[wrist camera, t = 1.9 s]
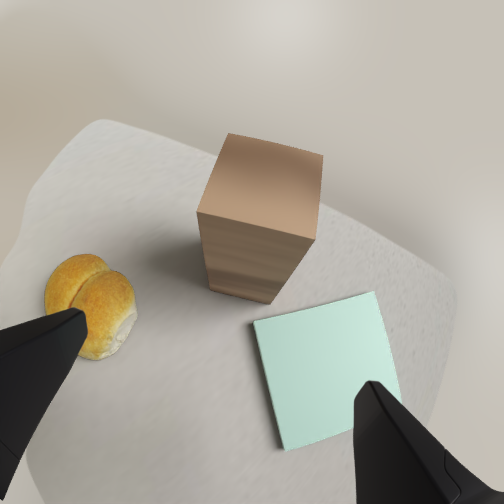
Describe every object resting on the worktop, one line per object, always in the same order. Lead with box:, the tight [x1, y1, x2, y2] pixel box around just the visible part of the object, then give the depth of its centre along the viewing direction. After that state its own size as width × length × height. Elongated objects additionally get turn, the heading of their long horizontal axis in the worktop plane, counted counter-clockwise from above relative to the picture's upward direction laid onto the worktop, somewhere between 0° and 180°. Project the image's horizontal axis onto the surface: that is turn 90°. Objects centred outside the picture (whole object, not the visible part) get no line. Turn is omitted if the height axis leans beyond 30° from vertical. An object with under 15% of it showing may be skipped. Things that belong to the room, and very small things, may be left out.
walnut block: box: [197, 133, 323, 304], centre depth 17 cm, size 5×5×12 cm
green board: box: [253, 291, 402, 451], centre depth 20 cm, size 11×11×1 cm
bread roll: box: [44, 254, 138, 360], centre depth 18 cm, size 8×9×4 cm
